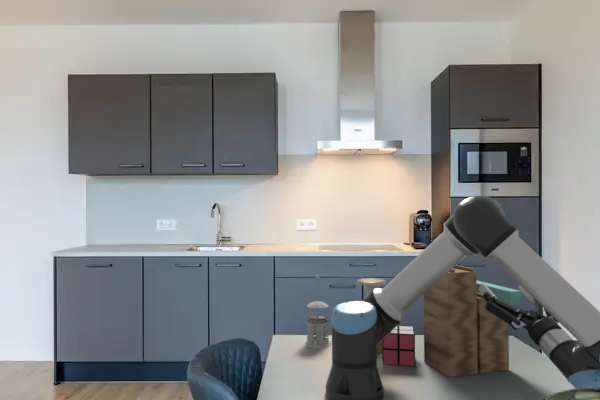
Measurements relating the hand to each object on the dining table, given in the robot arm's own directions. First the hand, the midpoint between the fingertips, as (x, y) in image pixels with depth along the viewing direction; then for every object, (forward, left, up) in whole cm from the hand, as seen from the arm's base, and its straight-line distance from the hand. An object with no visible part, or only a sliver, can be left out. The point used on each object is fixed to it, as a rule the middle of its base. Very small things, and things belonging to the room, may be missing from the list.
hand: (500, 285), depth 135 cm
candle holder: (-26, +34, -26) cm, 50 cm away
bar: (0, +6, -4) cm, 7 cm away
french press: (-43, +44, -26) cm, 67 cm away
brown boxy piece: (-5, +10, -26) cm, 29 cm away
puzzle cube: (-23, +20, -27) cm, 40 cm away
